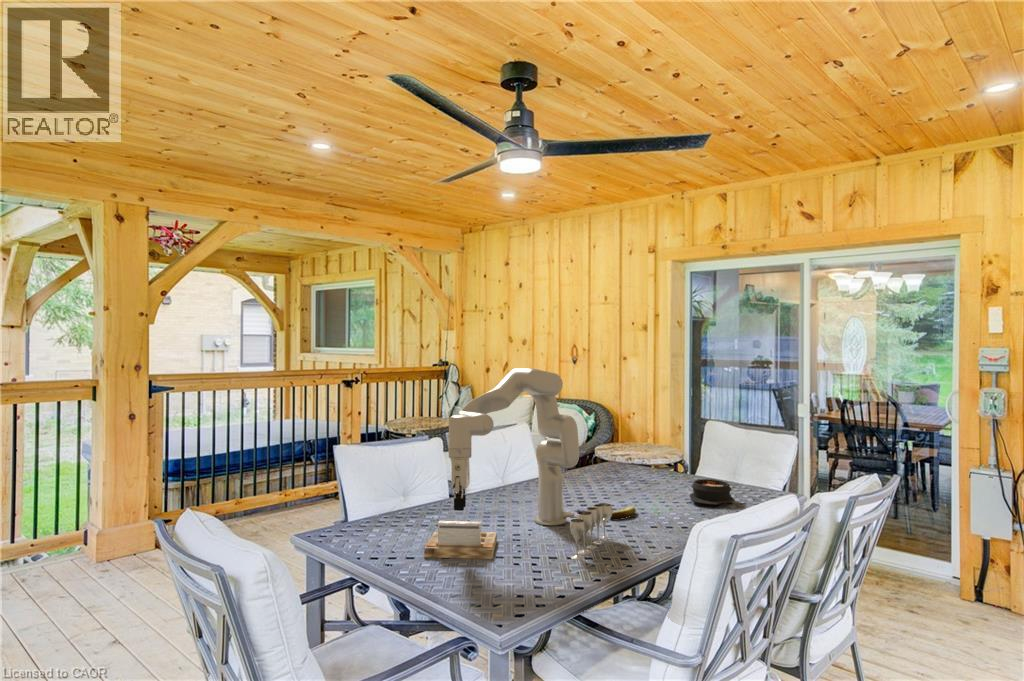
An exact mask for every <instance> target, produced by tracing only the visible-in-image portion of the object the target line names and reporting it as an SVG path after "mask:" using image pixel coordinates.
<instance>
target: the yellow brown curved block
mask: <svg viewBox="0 0 1024 681" xmlns="http://www.w3.org/2000/svg"><path fill="white" fill-rule="evenodd" d="M636 512H637V509H636V508H635V507H634V506H627V507H625V508H623V509H620V510H614V511H613V514H612V516H611V518H610V519H609V520H612V519H621V518H626V517H629V516H631V517H632V515H633V514H634V513H636ZM634 515H635V514H634ZM634 515H633V516H634ZM629 518H630V517H629ZM626 519H627V518H626ZM621 520H622V519H621Z"/></svg>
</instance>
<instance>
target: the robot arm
mask: <svg viewBox="0 0 1024 681" xmlns="http://www.w3.org/2000/svg"><path fill="white" fill-rule="evenodd" d="M563 386H564V385H563V380H562V378H561V376H560V375H559V374H557V373H555V372H551V371H547V370H542V369H537V368H526V367H525V368H524V367H518V368H516V367H515V368H513V369H511V370H510V371H508V373H506V375H504V377H503V378H502V379H501V380H500V381H499V382H498V383H497V384H496V385H495V386H494V387H493V388H492V389H491V390H489V391H487V392H485V393H483V394H481V395H479V396H477V397H475V398H473V399H471V400H469V401H468V402H466V404H465V405H464V406H463V407H462V408H461V409H460V410H459V411H458V413H457V414H454V415H451V416H450V417H449V419H448V458H449V459H451V489H452V490H453V492H454V494H453V495H454V498H453V510H454V511H460V512H461V511H464V510H465V508H466V504H467V503H466V501H467V500H466V499H467V498H466V497H467V494H466V490H467V489H468V488H469V486H470V483H471V475H470V474H471V473H470V472H471V470H470V468H471V467H470V459H471V458H472V437H474V436H477V437H478V436H479V437H482V436H483V437H484V436H486V435H489V434H490V433H491V432H492V431H493V429H494V424H495V422H494V420H493V418H492V417H491V416H490V415H489V414H490V413H495V412H498V411H503V410H505V409H508V408H509V407H510V406H511V405H512V404H513V403H514V401H515V400H516V399H517V398H518V397H519V396H520V395H521V394H522V393H524V392H526V393H527V394H528V395H530V396H531V398H532V399H533V401H534V403H535V409H536V419H537V431H538V433H539V435H540V436H541V437H542V438H547V439H546V440H542V441H540V442H539V443H538V444H537V445H536V449H535V457H536V461H537V469H538V509H537V510H538V514H537V515H536V516H534V522H535V523H537V524H538V525H542V526H560V525H563V524H566V523H567V522H568V521H567V518H570V519H575V512H572V511H565V510H564V506H563V505H564V502H563V500H564V499H563V498H564V497H563V494H564V492H563V491H564V485H563V483H564V476H563V472H562V470H561V468H566V469H571V468H574V467H576V466H577V465H578V462H579V459H580V444H579V443H580V442H579V430H578V429H579V428H578V423H577V422H576V419H575V418H574V417H572V416H571V415H568V414H561V413H560V411H559V404H558V400H557V397H556V396H558V395H559V394H560V393H561V391H562V389H563ZM551 439H552V440H551ZM553 439H555V440H553Z"/></svg>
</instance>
